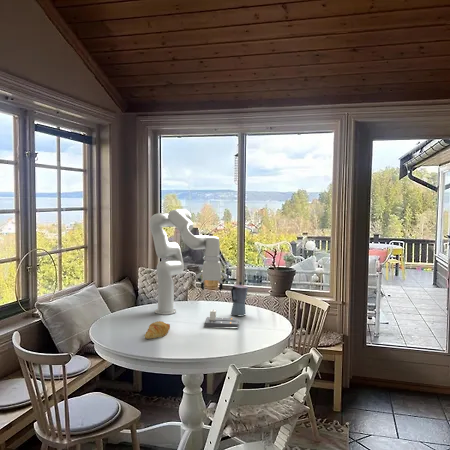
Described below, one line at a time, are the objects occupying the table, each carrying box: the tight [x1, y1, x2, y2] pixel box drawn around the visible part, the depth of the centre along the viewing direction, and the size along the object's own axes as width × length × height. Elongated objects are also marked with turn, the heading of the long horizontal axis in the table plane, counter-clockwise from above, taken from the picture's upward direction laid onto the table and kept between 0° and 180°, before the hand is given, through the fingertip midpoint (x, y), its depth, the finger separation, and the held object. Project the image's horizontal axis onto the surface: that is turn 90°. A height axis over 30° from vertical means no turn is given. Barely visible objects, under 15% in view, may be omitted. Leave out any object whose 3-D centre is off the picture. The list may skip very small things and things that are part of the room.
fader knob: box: [209, 309, 217, 321], centre depth 253 cm, size 4×3×7 cm
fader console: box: [203, 316, 240, 328], centre depth 253 cm, size 12×18×3 cm, turn 86°
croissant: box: [144, 320, 171, 340], centre depth 232 cm, size 21×10×8 cm, turn 156°
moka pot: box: [230, 281, 249, 316], centre depth 275 cm, size 10×15×20 cm, turn 148°
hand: (211, 290), depth 252 cm, fingers open, 9 cm apart
